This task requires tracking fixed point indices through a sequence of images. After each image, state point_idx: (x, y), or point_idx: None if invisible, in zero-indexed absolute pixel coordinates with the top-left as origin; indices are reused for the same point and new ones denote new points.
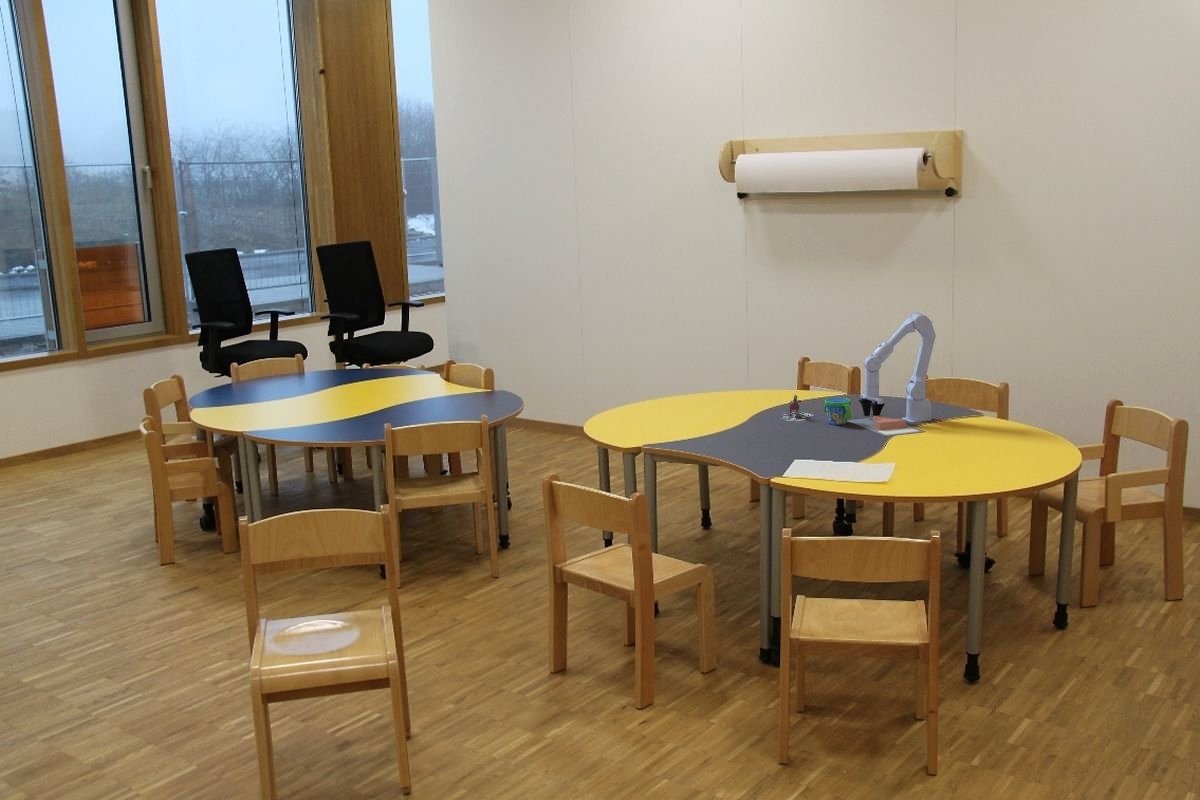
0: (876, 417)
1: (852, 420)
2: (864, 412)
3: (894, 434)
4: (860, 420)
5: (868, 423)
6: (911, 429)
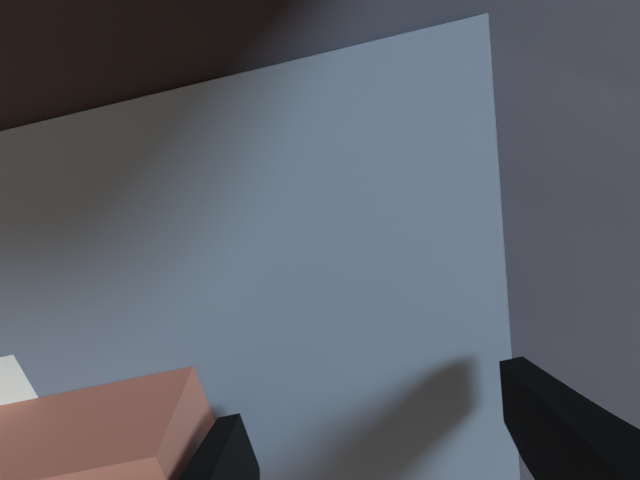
0: (36, 477)
1: (454, 122)
2: (538, 399)
3: None
4: (412, 250)
5: (182, 305)
6: None
